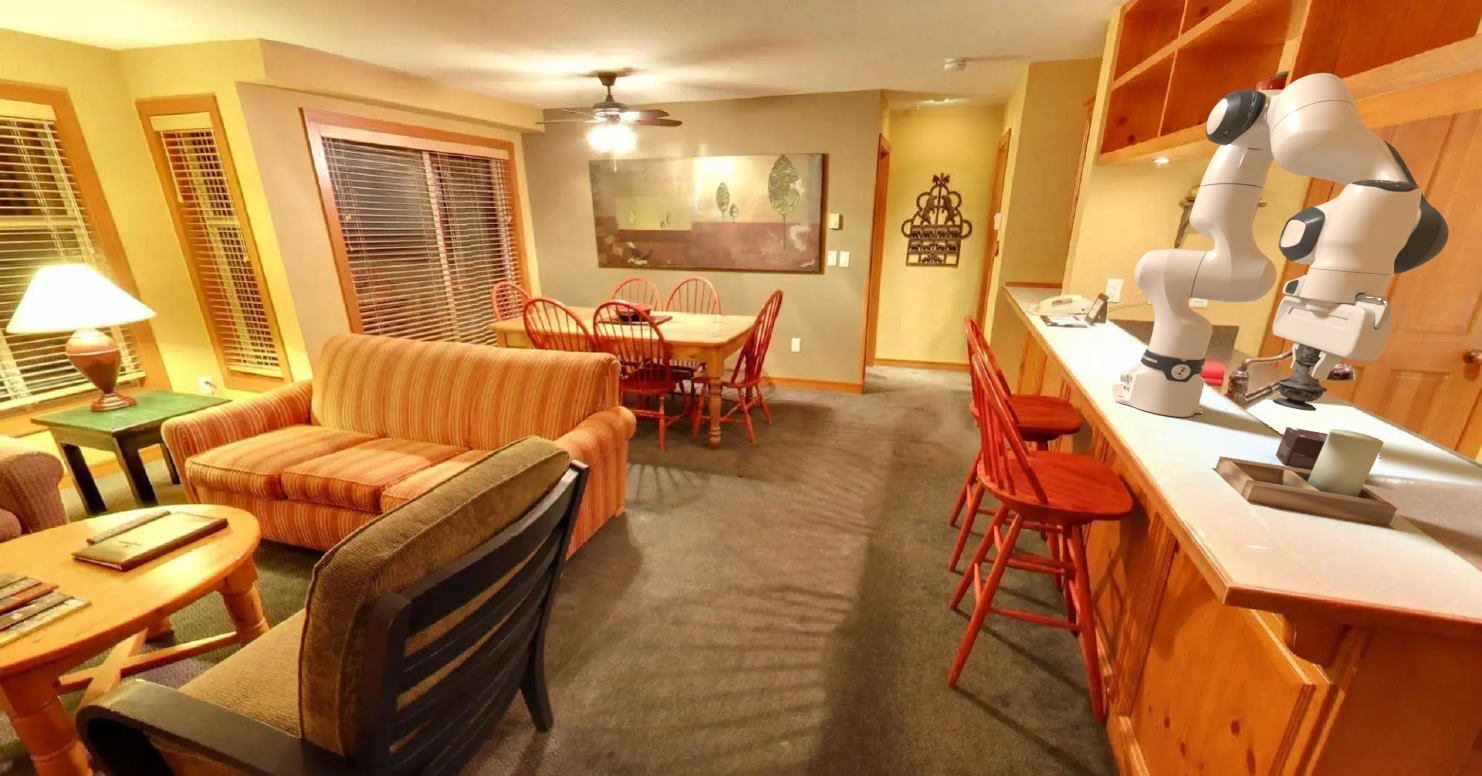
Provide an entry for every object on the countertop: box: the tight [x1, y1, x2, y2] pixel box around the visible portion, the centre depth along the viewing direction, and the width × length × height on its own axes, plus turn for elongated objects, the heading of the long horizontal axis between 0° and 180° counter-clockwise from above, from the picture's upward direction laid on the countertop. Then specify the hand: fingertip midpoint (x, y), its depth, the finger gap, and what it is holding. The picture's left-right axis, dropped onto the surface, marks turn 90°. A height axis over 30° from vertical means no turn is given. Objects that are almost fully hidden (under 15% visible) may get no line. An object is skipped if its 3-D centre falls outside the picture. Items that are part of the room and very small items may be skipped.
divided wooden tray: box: [1211, 456, 1398, 530], centre depth 92 cm, size 14×18×4 cm
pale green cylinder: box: [1307, 428, 1385, 497], centre depth 89 cm, size 6×6×12 cm
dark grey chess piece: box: [1272, 345, 1328, 412], centre depth 87 cm, size 6×6×12 cm
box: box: [1275, 426, 1329, 470], centre depth 104 cm, size 6×6×7 cm
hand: (1307, 374), depth 87 cm, fingers closed on dark grey chess piece, 3 cm apart
